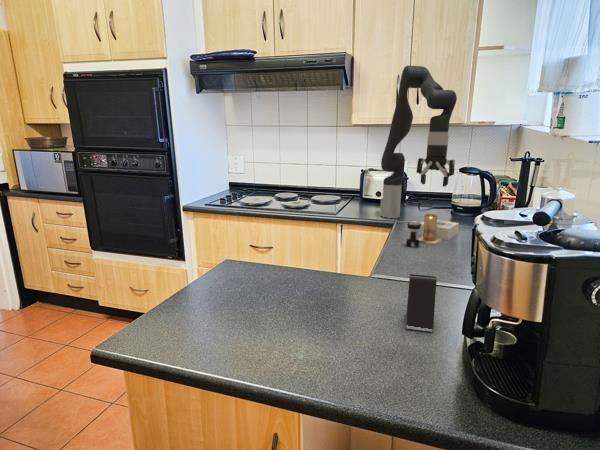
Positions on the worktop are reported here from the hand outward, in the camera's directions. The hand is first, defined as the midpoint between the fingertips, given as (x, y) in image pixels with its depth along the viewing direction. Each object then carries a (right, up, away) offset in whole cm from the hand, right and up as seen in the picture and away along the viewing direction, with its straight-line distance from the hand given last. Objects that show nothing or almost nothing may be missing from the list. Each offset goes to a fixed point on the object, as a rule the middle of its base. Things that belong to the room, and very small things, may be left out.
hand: (433, 185), depth 155 cm
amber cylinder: (0, -22, +6) cm, 23 cm away
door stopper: (-25, -40, -61) cm, 77 cm away
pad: (0, -23, +6) cm, 23 cm away
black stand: (-9, -24, -1) cm, 26 cm away
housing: (+7, -20, +16) cm, 27 cm away
